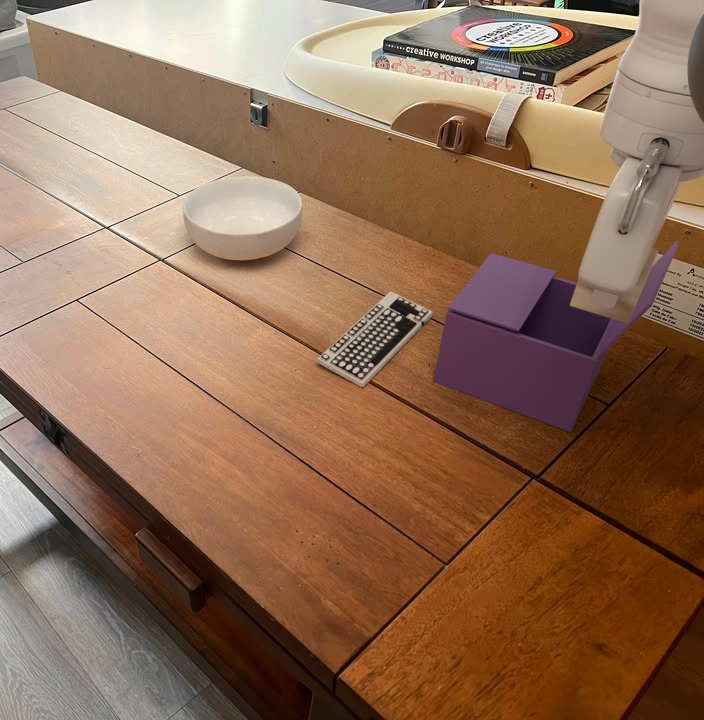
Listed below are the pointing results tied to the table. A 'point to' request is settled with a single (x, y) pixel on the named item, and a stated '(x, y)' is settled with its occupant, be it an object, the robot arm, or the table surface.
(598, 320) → the box
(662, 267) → the flap
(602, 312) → the block
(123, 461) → the table surface
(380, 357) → the keyboard
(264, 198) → the cereal bowl
